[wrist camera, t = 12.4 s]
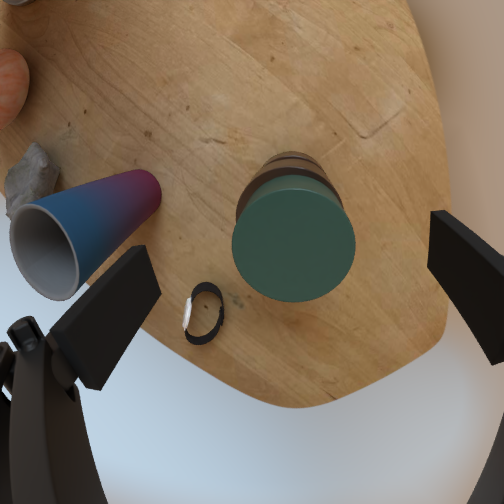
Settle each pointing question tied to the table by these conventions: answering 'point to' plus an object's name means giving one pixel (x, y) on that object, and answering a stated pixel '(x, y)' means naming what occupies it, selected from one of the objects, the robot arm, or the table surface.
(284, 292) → the green cylinder
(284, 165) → the brown jar
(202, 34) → the table surface
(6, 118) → the tomato
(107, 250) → the cup
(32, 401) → the robot arm
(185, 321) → the watch
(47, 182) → the fossil
